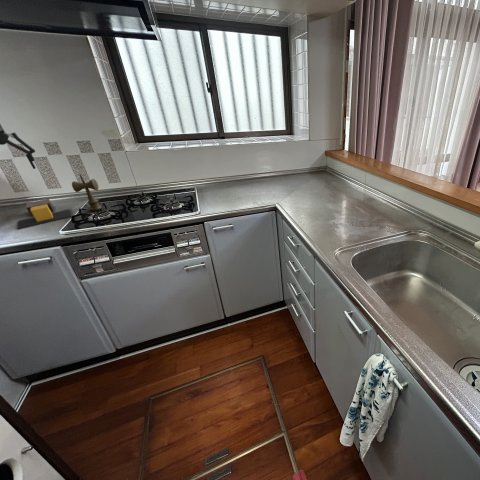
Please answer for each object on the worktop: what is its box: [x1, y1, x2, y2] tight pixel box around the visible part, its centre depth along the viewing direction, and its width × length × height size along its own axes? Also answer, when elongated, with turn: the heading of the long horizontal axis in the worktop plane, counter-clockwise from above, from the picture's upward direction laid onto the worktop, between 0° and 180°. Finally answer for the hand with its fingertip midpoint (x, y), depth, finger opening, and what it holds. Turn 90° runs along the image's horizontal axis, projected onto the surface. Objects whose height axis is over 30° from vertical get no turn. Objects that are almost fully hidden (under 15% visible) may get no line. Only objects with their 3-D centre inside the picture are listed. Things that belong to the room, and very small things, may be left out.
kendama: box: [71, 173, 103, 212], centre depth 141 cm, size 6×10×20 cm, turn 113°
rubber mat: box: [17, 209, 72, 230], centre depth 136 cm, size 20×12×1 cm, turn 133°
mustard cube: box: [31, 204, 53, 222], centre depth 135 cm, size 6×6×6 cm
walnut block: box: [25, 198, 55, 218], centre depth 144 cm, size 9×9×5 cm
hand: (15, 170), depth 127 cm, fingers open, 13 cm apart
